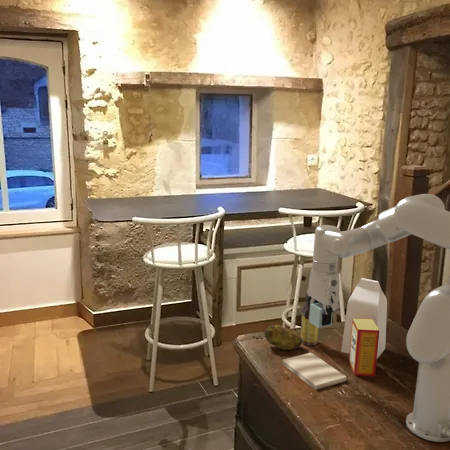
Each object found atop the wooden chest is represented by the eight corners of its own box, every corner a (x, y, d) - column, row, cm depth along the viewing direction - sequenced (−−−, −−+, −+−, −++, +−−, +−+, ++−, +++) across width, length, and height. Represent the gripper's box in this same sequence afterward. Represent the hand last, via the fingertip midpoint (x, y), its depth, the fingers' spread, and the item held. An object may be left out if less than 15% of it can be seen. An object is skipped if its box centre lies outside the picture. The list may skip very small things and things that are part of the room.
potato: (298, 355, 177) (299, 334, 175) (261, 349, 181) (262, 328, 179) (302, 345, 184) (303, 324, 183) (267, 339, 188) (268, 319, 187)
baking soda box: (348, 361, 174) (352, 316, 170) (368, 362, 173) (372, 317, 170) (354, 375, 164) (358, 328, 161) (375, 376, 164) (379, 329, 161)
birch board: (346, 381, 161) (346, 376, 160) (315, 389, 155) (315, 385, 155) (310, 356, 176) (311, 352, 176) (281, 363, 171) (281, 359, 170)
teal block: (331, 325, 160) (333, 307, 159) (318, 328, 158) (320, 309, 157) (321, 319, 165) (323, 301, 163) (308, 321, 162) (310, 304, 161)
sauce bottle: (305, 337, 191) (308, 286, 187) (320, 342, 188) (324, 290, 183) (297, 343, 186) (300, 291, 182) (312, 348, 182) (316, 295, 178)
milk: (341, 351, 181) (346, 281, 175) (352, 340, 190) (358, 272, 184) (375, 361, 174) (381, 288, 168) (385, 348, 184) (392, 279, 178)
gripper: (353, 272, 151) (347, 330, 156) (317, 256, 166) (313, 309, 170) (333, 275, 148) (328, 334, 152) (298, 259, 163) (294, 313, 167)
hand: (320, 320), depth 161 cm, fingers closed on teal block, 4 cm apart
